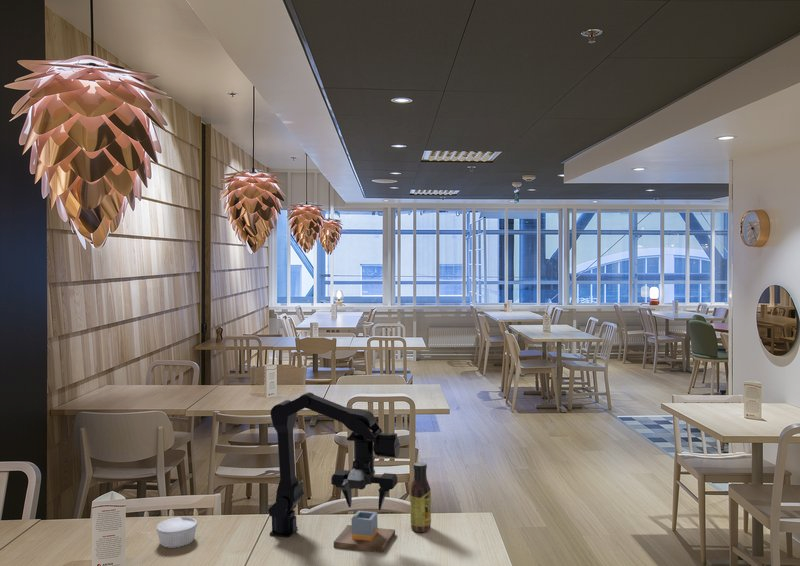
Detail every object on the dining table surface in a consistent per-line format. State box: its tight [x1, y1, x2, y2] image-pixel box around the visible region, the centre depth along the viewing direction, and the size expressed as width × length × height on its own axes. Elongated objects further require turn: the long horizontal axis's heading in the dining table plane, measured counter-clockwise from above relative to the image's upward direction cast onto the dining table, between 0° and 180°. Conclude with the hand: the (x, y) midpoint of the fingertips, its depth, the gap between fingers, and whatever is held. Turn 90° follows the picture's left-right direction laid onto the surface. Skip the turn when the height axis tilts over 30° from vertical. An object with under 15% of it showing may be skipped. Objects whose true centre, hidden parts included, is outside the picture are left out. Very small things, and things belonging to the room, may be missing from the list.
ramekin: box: [156, 516, 198, 549], centre depth 187 cm, size 11×11×5 cm
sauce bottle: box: [409, 461, 432, 533], centre depth 193 cm, size 6×6×20 cm
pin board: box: [333, 524, 396, 553], centre depth 185 cm, size 15×12×5 cm
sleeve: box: [350, 510, 379, 541], centre depth 185 cm, size 6×6×6 cm
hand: (364, 508), depth 185 cm, fingers open, 9 cm apart
